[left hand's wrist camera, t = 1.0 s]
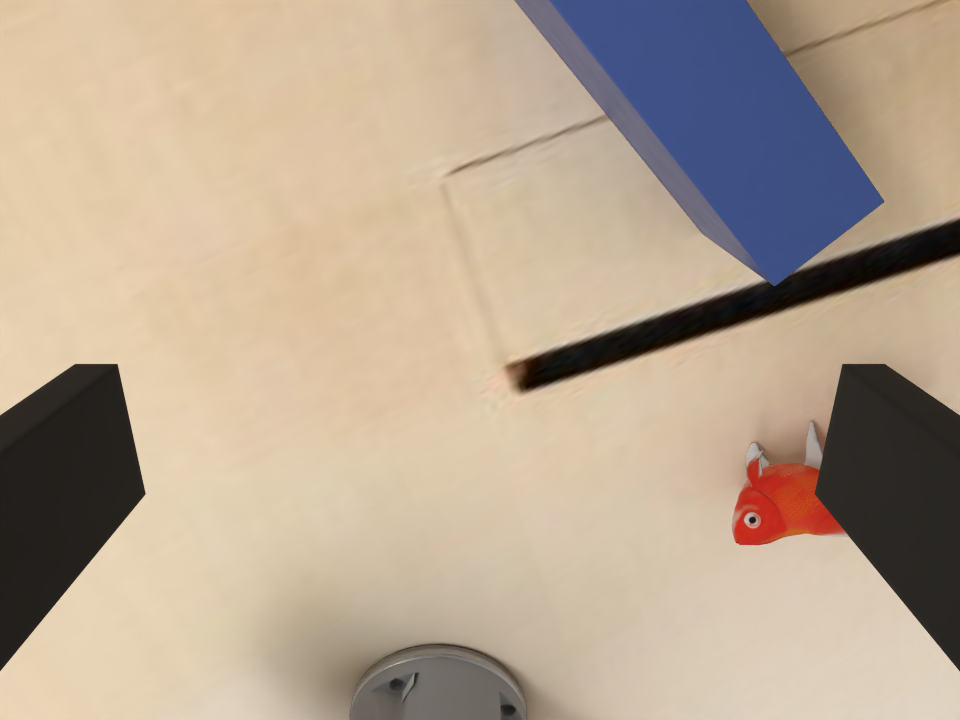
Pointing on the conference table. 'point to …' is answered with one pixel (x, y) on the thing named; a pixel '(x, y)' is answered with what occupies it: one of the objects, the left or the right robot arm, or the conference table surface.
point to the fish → (782, 499)
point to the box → (716, 121)
